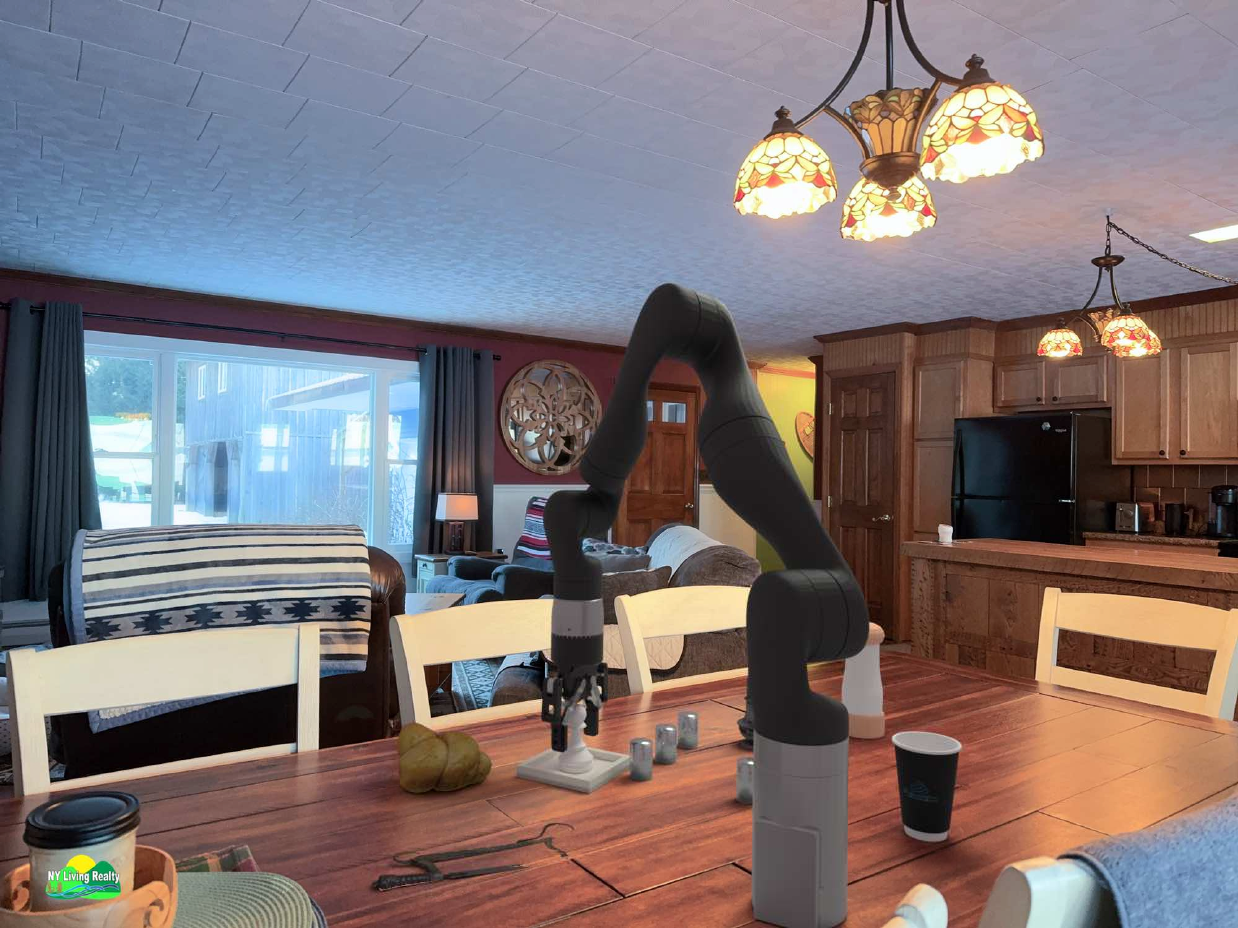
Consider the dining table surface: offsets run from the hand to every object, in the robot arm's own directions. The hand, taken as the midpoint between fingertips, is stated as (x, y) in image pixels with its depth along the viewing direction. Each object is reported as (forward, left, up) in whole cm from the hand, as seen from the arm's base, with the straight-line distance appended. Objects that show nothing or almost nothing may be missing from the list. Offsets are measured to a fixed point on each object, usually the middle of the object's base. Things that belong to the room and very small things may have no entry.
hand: (575, 742), depth 120 cm
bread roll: (-14, +13, -4) cm, 19 cm away
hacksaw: (-28, -5, -5) cm, 28 cm away
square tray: (0, 0, -4) cm, 4 cm away
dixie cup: (+4, -47, -4) cm, 47 cm away
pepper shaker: (+41, -31, -4) cm, 52 cm away
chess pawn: (0, 0, -4) cm, 4 cm away
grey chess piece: (+25, -18, -4) cm, 31 cm away
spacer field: (+11, -17, -4) cm, 21 cm away
